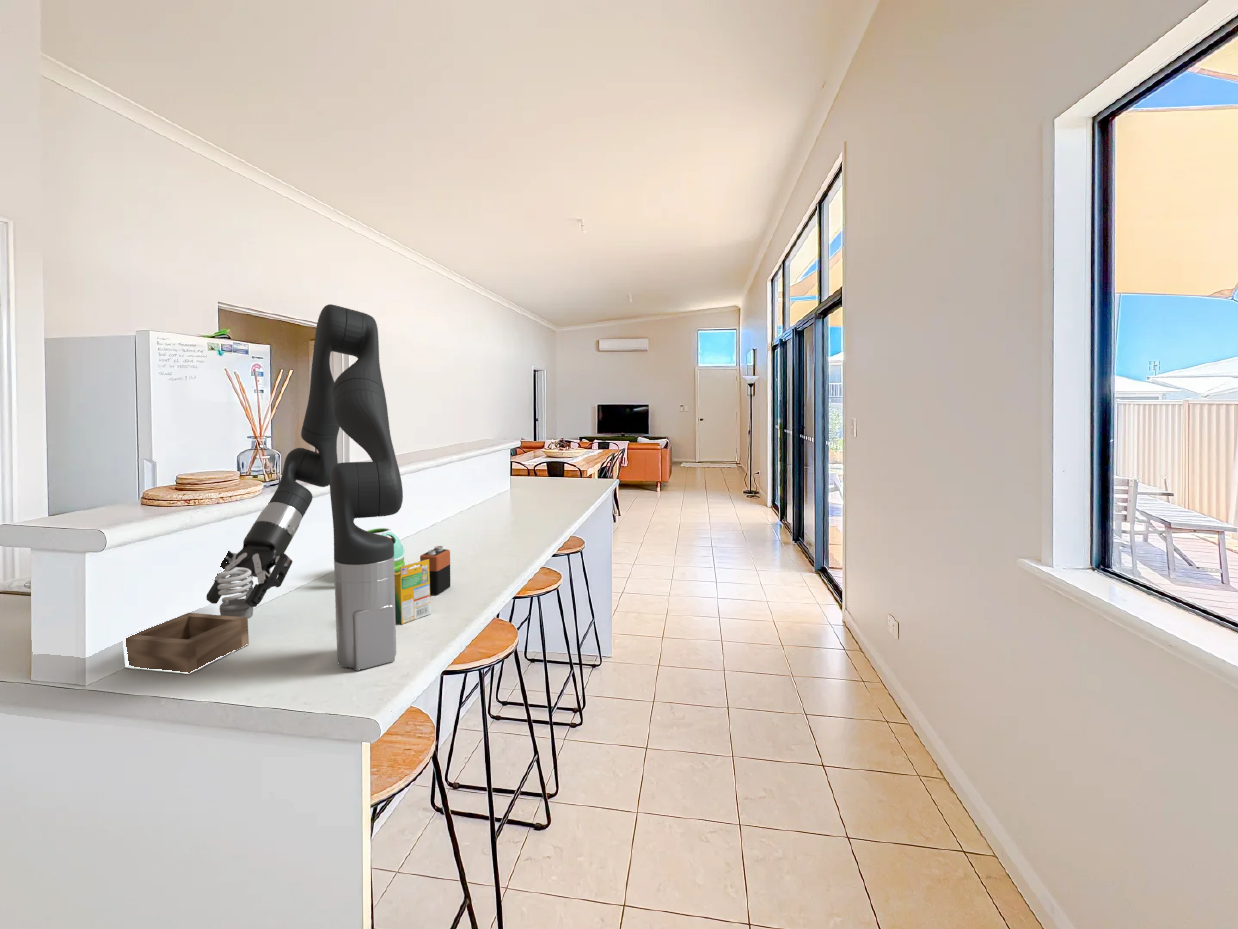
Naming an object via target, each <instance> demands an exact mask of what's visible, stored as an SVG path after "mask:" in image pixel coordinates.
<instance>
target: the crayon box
mask: <svg viewBox="0 0 1238 929" xmlns="http://www.w3.org/2000/svg"><path fill="white" fill-rule="evenodd" d="M420 565H421V566H420ZM414 566H416V567H414ZM394 579H395V621H396V624H397V625H398V624H399V625H404V624H406V623H409V622H412V621H415V620H417V619H421V618H423V617H426V616H430V615H431V614H432V611H431V608H432V607H431V595H430V576H429V559H427V560H424V561H420V560H419V561H416V562H413V563H408V564H405V565H404V566H401V567H400V572H398V573H394Z"/></svg>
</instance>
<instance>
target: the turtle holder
mask: <svg viewBox="0 0 1238 929" xmlns="http://www.w3.org/2000/svg"><path fill="white" fill-rule="evenodd" d="M364 530H365V529H364ZM365 531H367V532H370V533H374V534H378V535H383V536H386V537H388V538H390V539H391V540H392V541H393V543H394V573H398V572H400V567H401V566H405V565H406V562H405V555H406V554H405V553H406V552H405V547H404V544H403V542H402V540H401V539H400V536H398V535H397V534H396V533H395V532H394V531H393V530H392V528H389V527H388V528H386V527H376V528H370V529H369V528H368V529H366V530H365Z"/></svg>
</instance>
